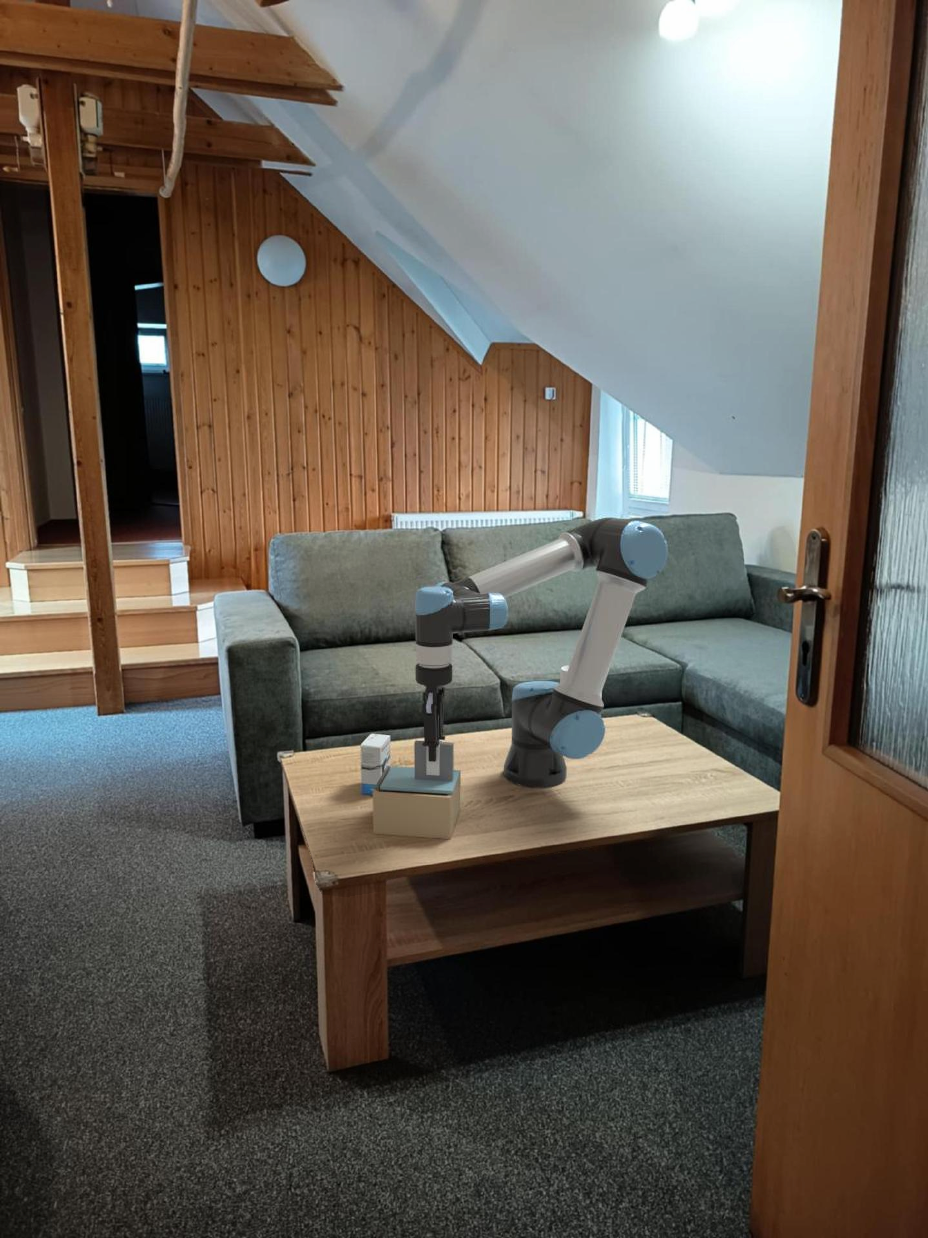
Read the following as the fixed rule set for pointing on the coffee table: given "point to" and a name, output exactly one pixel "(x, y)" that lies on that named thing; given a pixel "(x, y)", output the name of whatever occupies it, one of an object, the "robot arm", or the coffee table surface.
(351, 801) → the coffee table surface
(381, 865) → the coffee table surface
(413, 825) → the carton
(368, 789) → the ink box
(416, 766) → the lid flap
